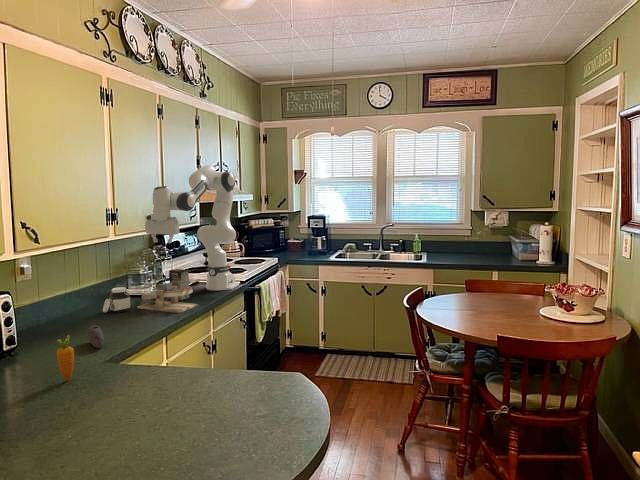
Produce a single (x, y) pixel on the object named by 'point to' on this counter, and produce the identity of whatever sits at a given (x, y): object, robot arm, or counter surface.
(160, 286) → the block
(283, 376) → the counter surface
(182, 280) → the coffee box
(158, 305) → the pivot stand
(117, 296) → the spread jar
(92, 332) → the perforated stone tool
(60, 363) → the carrot
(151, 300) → the beige long grooved bar
